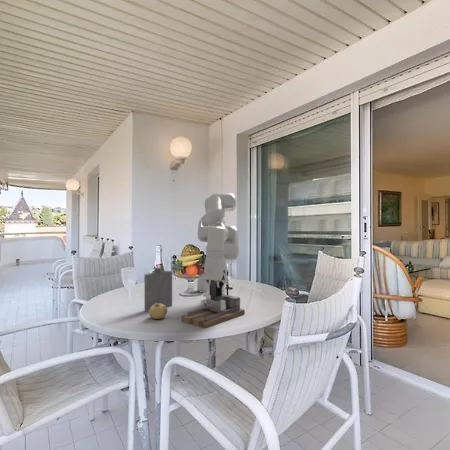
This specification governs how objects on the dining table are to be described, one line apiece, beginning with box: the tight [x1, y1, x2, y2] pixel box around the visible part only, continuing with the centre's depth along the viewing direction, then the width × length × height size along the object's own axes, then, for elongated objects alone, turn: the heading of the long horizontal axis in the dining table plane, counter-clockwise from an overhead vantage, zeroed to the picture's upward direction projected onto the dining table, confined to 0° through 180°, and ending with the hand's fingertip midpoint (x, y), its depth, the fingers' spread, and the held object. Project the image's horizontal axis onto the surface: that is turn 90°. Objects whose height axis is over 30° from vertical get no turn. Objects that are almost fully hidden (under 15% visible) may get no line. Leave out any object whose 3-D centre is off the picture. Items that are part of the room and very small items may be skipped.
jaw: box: [205, 281, 225, 312], centre depth 143 cm, size 9×3×13 cm, turn 49°
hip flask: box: [144, 266, 173, 313], centre depth 157 cm, size 16×4×20 cm, turn 139°
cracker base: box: [181, 294, 246, 329], centre depth 142 cm, size 14×26×8 cm, turn 139°
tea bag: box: [196, 277, 207, 293], centre depth 196 cm, size 4×7×10 cm, turn 39°
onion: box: [148, 303, 168, 320], centre depth 141 cm, size 8×8×7 cm
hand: (215, 295), depth 143 cm, fingers closed on jaw, 3 cm apart
